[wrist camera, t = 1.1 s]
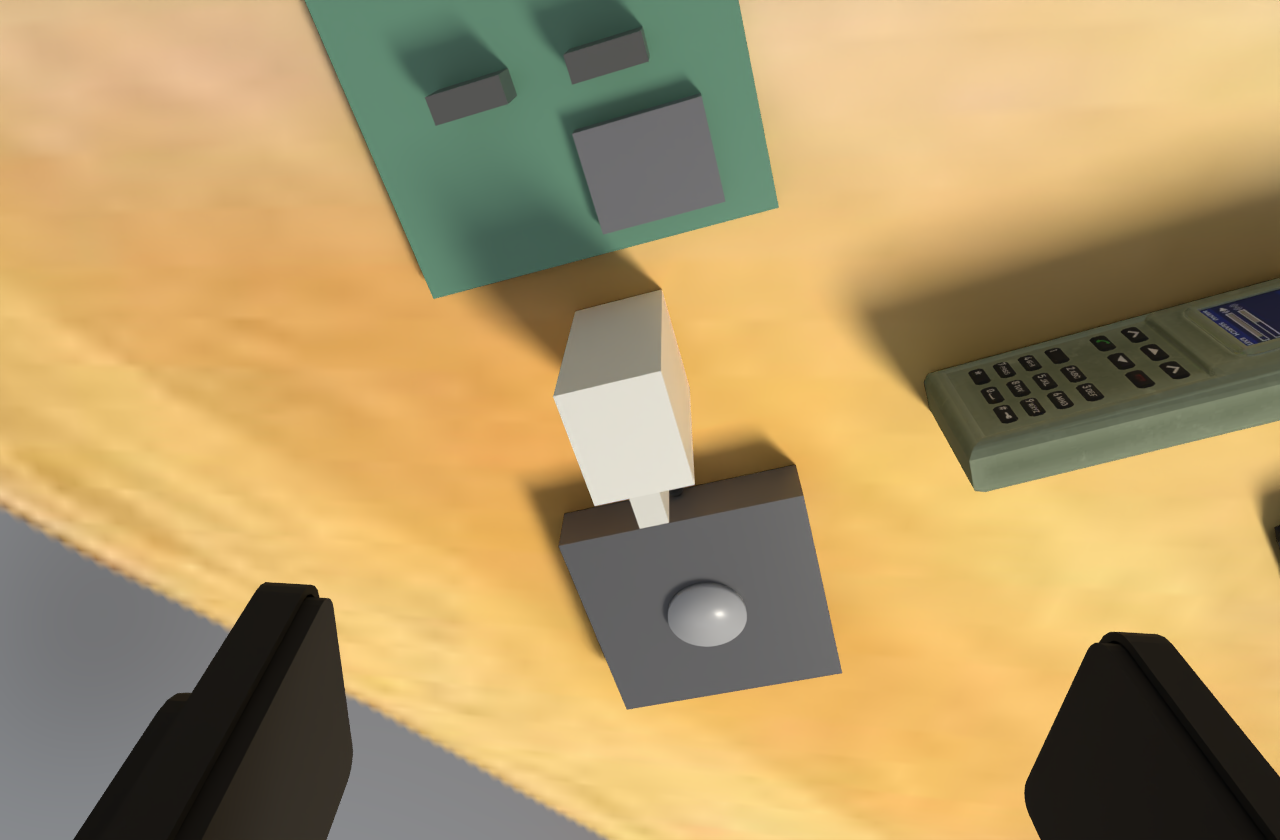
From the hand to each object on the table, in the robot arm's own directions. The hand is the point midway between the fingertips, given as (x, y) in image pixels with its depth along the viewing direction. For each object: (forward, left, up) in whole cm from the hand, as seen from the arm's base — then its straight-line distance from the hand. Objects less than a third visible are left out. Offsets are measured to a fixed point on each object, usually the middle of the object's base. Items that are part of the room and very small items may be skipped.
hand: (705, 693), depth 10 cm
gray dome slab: (+4, +19, -26) cm, 33 cm away
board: (+4, -7, -26) cm, 27 cm away
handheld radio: (-21, +12, -27) cm, 36 cm away
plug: (+4, +7, -26) cm, 27 cm away
